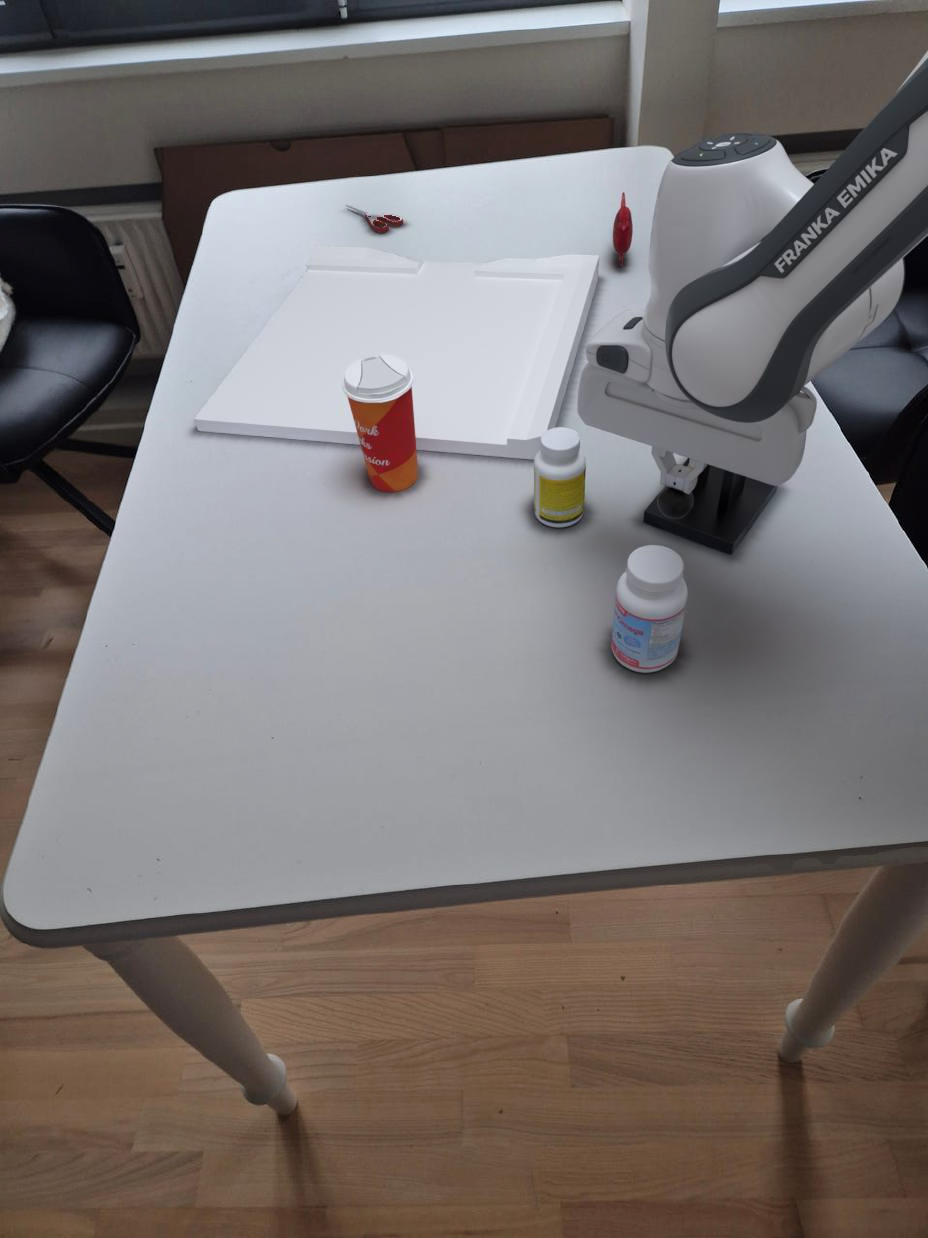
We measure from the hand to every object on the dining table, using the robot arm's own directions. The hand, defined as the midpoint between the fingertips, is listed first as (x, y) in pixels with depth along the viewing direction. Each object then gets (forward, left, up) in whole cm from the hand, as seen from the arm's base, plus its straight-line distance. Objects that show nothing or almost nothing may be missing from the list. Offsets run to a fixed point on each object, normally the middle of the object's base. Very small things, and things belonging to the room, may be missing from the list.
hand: (677, 486), depth 81 cm
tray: (+20, -49, -10) cm, 54 cm away
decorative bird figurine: (-15, -67, -10) cm, 70 cm away
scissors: (+22, -95, -10) cm, 98 cm away
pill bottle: (+6, +11, -10) cm, 16 cm away
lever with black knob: (-4, -4, -1) cm, 6 cm away
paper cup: (+26, -21, -10) cm, 35 cm away
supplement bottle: (+9, -10, -10) cm, 17 cm away
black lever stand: (-7, -7, -10) cm, 14 cm away
